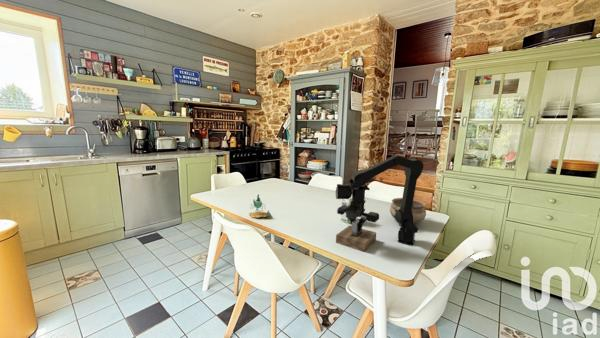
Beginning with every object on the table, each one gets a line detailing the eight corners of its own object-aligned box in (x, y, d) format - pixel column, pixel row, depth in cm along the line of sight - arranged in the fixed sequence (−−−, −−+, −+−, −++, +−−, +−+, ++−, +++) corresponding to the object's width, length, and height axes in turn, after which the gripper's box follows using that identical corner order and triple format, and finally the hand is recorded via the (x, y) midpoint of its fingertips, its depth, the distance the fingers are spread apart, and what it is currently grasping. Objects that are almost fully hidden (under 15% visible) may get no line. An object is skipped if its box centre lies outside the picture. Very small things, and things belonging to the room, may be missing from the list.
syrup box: (340, 220, 140) (341, 196, 138) (346, 218, 144) (347, 195, 141) (348, 223, 136) (349, 199, 133) (354, 221, 139) (355, 197, 137)
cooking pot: (418, 234, 122) (421, 211, 120) (382, 225, 134) (383, 204, 132) (429, 220, 141) (431, 200, 139) (396, 213, 153) (397, 194, 151)
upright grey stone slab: (361, 235, 115) (362, 219, 114) (356, 239, 111) (356, 223, 109) (356, 233, 117) (357, 218, 116) (351, 238, 112) (351, 222, 111)
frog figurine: (264, 222, 137) (261, 197, 135) (243, 218, 148) (241, 195, 146) (275, 217, 145) (273, 193, 143) (255, 214, 155) (252, 191, 154)
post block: (375, 240, 115) (376, 232, 115) (364, 251, 105) (364, 243, 104) (349, 232, 124) (349, 225, 123) (335, 242, 113) (336, 234, 112)
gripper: (331, 199, 110) (330, 231, 113) (371, 207, 99) (369, 242, 101) (343, 194, 119) (342, 223, 121) (380, 201, 108) (378, 233, 110)
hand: (356, 230), depth 113 cm, fingers closed on upright grey stone slab, 2 cm apart
